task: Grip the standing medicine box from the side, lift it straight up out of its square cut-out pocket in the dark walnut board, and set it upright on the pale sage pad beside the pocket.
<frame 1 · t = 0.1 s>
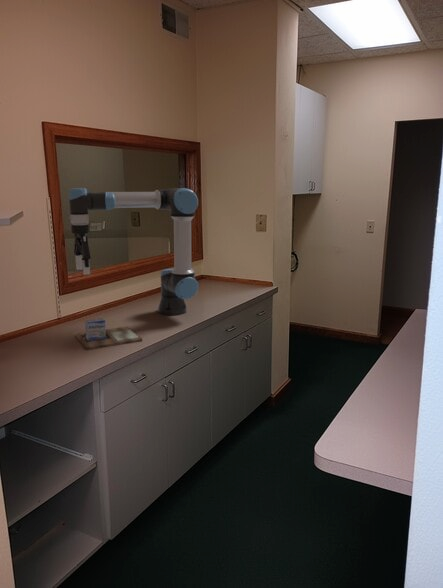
hand: (83, 272, 210), 28 cm above the table, tool pointing down, fingers open, 13 cm apart
pocket board: (108, 338, 207), on the table
medicine box: (96, 339, 206), resting in pocket board
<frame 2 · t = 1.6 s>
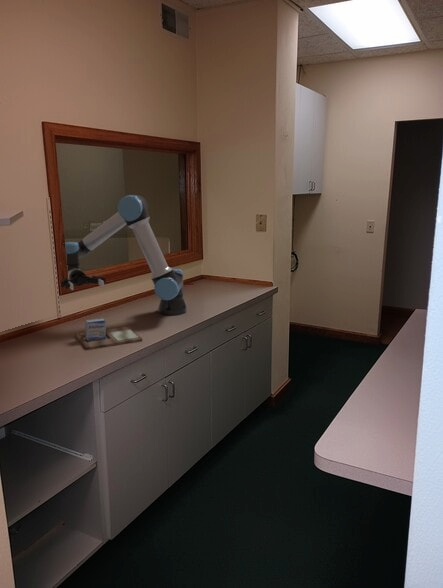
hand: (88, 285, 209), 22 cm above the table, tool horizontal, fingers open, 13 cm apart
nothing on the table moved.
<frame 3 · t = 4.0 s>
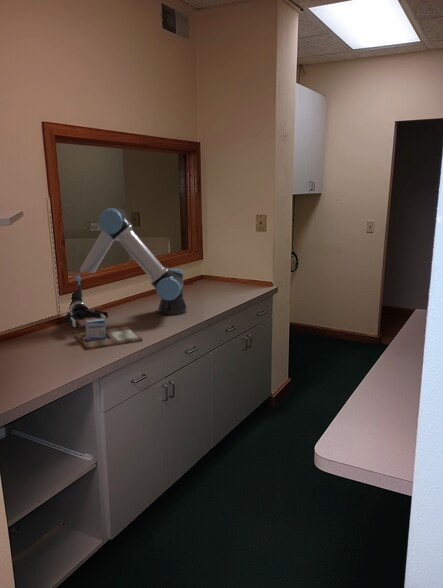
hand: (90, 321, 210), 6 cm above the table, tool horizontal, fingers open, 13 cm apart
nothing on the table moved.
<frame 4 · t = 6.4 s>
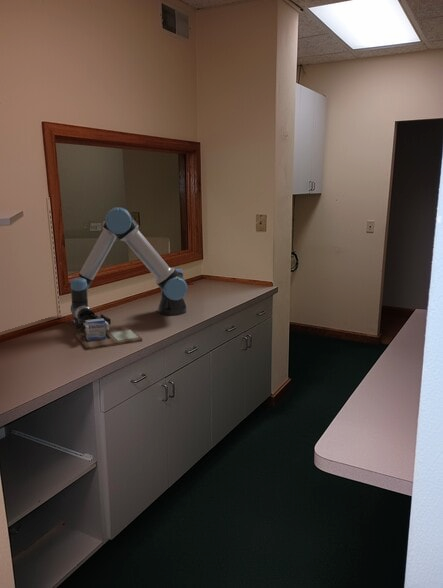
hand: (98, 328, 201), 6 cm above the table, tool horizontal, fingers closed on medicine box, 8 cm apart
medicine box: (96, 339, 206), resting in pocket board, touching gripper
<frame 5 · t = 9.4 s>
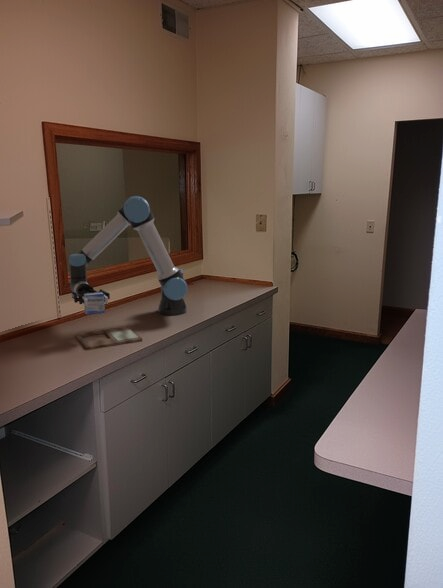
hand: (97, 301, 198), 18 cm above the table, tool horizontal, fingers closed on medicine box, 8 cm apart
medicine box: (94, 313, 203), point 12 cm above the table, touching gripper
when the fingers open (9 cm above the table, at t = 12.5 s): medicine box drops 1 cm, resting on pocket board.
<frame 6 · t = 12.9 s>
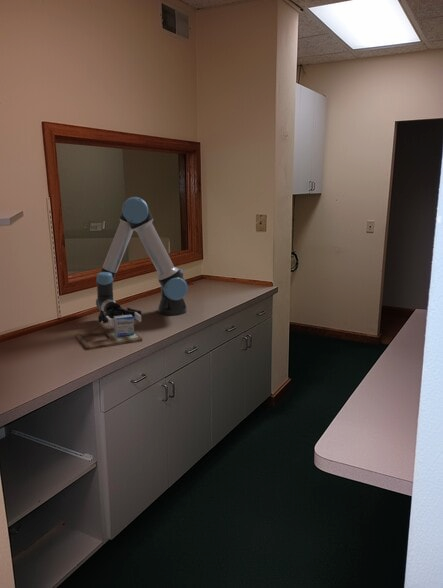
hand: (126, 320, 203), 9 cm above the table, tool horizontal, fingers open, 12 cm apart
medicine box: (124, 335, 208), point 1 cm above the table, touching pocket board
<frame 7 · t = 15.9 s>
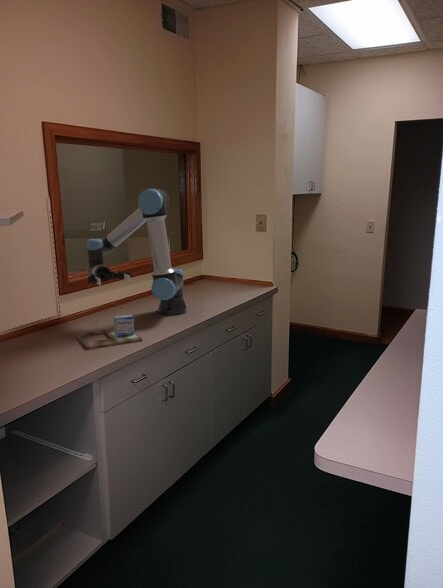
hand: (115, 280, 211), 24 cm above the table, tool horizontal, fingers open, 13 cm apart
nothing on the table moved.
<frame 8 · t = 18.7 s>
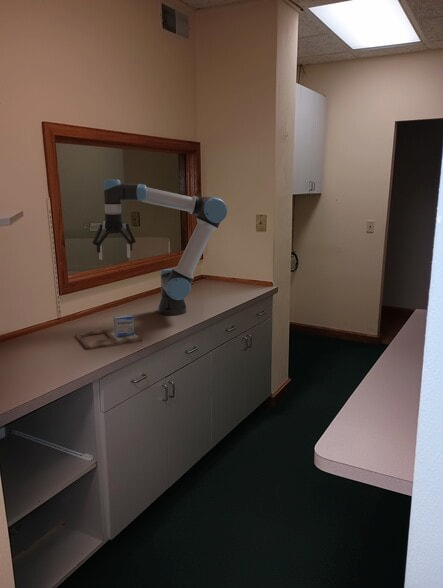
hand: (115, 258, 223), 32 cm above the table, tool pointing down, fingers open, 13 cm apart
nothing on the table moved.
at the end: medicine box inside the target area on the pocket board (0.1 cm from its centre), point 1.0 cm above the pocket board's base; medicine box tilted 0°; the gripper is holding nothing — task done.
